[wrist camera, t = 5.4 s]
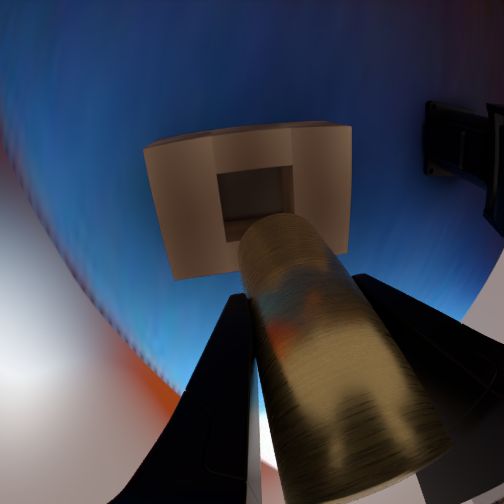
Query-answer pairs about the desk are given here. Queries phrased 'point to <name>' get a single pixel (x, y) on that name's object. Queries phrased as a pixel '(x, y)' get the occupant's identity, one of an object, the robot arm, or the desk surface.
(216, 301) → the desk surface
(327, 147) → the bore block
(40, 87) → the desk surface
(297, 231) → the brass pin
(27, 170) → the desk surface
